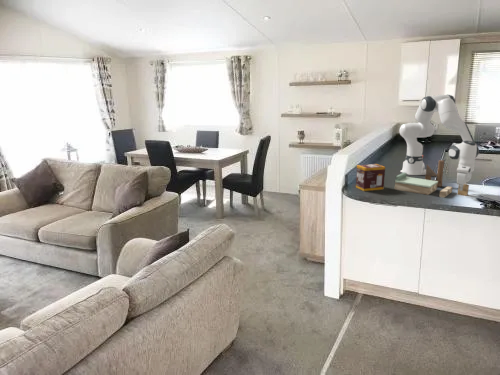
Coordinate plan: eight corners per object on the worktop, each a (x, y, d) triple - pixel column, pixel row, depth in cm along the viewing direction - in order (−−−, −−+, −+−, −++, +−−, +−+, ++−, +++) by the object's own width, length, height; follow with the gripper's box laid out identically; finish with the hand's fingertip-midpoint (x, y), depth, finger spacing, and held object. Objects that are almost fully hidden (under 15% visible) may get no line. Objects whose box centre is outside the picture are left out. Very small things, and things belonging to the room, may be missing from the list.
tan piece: (403, 184, 272) (403, 178, 271) (451, 192, 253) (452, 185, 251) (394, 189, 261) (395, 182, 260) (444, 197, 241) (445, 190, 240)
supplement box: (355, 187, 267) (356, 165, 263) (375, 185, 271) (376, 163, 267) (363, 191, 257) (364, 168, 253) (383, 189, 261) (385, 166, 257)
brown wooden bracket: (424, 184, 272) (427, 159, 267) (441, 186, 267) (444, 160, 263) (424, 185, 269) (427, 159, 264) (441, 187, 264) (444, 161, 260)
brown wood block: (459, 193, 250) (460, 183, 248) (467, 194, 247) (469, 184, 245) (457, 194, 247) (458, 184, 245) (466, 196, 244) (467, 186, 242)
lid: (403, 177, 271) (404, 172, 270) (437, 182, 257) (438, 176, 256) (394, 182, 260) (395, 176, 259) (430, 187, 245) (430, 181, 244)
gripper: (464, 163, 252) (461, 184, 256) (456, 169, 237) (453, 191, 241) (475, 165, 248) (472, 186, 252) (467, 171, 233) (464, 193, 237)
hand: (463, 188), depth 246 cm, fingers open, 8 cm apart
